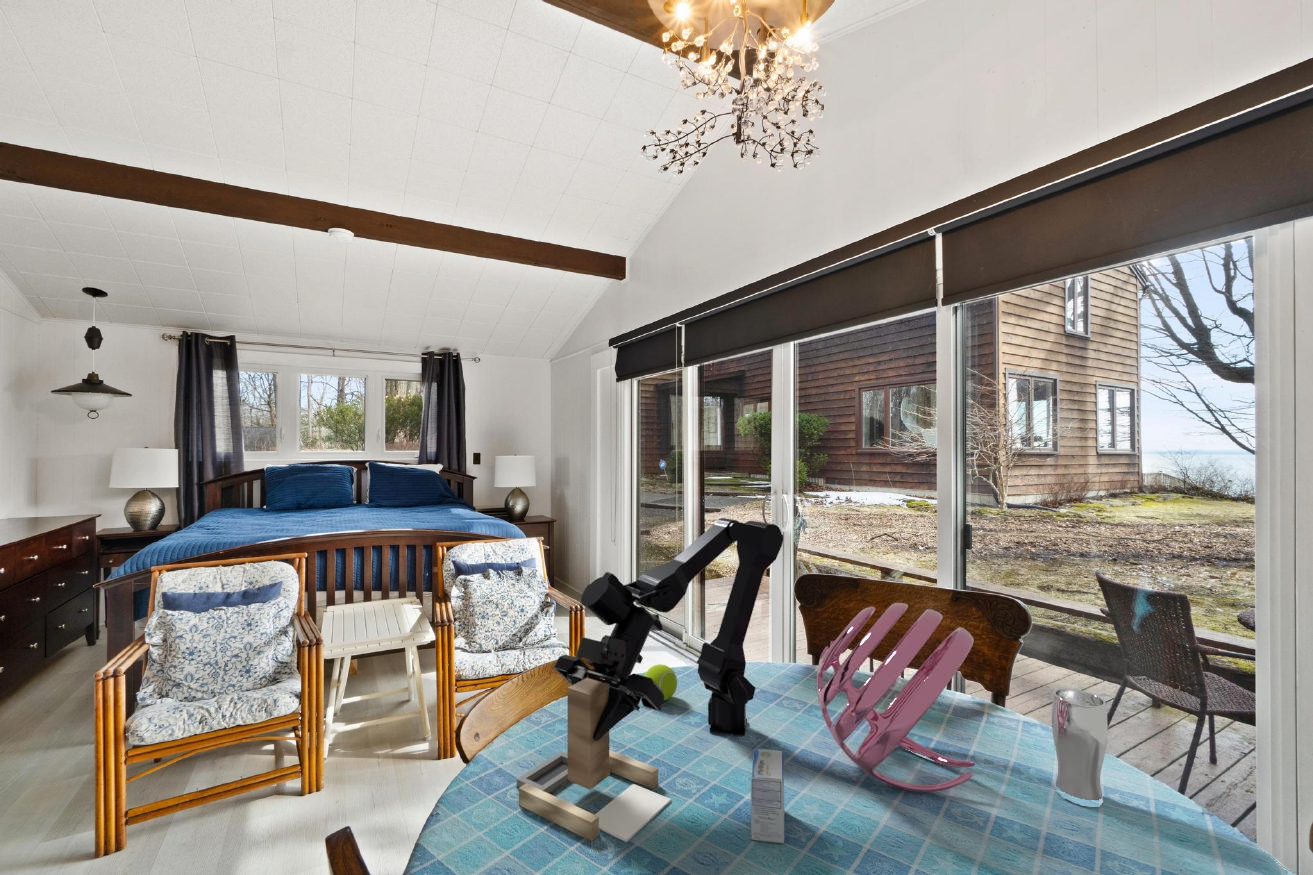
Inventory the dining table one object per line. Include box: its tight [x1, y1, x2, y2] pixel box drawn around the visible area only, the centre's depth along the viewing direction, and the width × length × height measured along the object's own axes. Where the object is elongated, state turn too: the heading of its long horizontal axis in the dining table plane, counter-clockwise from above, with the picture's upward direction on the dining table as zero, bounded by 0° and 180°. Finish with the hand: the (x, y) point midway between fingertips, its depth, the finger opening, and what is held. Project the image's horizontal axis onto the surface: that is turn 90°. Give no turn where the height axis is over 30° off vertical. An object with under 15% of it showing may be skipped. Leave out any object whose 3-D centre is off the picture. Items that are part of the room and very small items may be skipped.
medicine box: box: [750, 748, 785, 845], centre depth 84 cm, size 8×4×9 cm, turn 168°
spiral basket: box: [816, 602, 976, 793], centre depth 98 cm, size 28×28×27 cm
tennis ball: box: [644, 664, 678, 701], centre depth 124 cm, size 7×7×7 cm
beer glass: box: [1051, 687, 1109, 800], centre depth 91 cm, size 7×7×15 cm
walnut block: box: [567, 678, 610, 791], centre depth 91 cm, size 4×4×14 cm
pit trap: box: [516, 751, 570, 794], centre depth 95 cm, size 6×10×1 cm, turn 146°
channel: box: [518, 749, 659, 842], centre depth 91 cm, size 14×16×2 cm
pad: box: [594, 783, 672, 843], centre depth 86 cm, size 7×11×1 cm, turn 146°
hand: (582, 734), depth 90 cm, fingers closed on walnut block, 4 cm apart
